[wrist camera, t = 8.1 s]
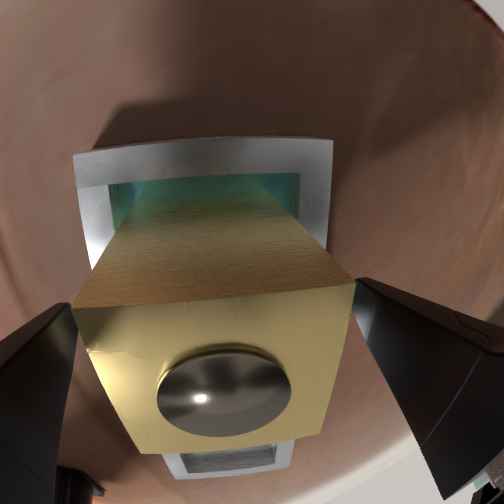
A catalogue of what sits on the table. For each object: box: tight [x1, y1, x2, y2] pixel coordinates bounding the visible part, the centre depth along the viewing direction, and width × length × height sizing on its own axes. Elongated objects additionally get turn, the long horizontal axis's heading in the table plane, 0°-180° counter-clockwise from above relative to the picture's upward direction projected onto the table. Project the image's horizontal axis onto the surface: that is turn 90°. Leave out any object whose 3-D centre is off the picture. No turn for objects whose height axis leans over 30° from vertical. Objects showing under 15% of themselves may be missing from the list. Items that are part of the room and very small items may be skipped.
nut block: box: [71, 192, 356, 454], centre depth 9 cm, size 5×5×7 cm
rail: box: [73, 136, 333, 479], centre depth 15 cm, size 23×9×2 cm, turn 0°
